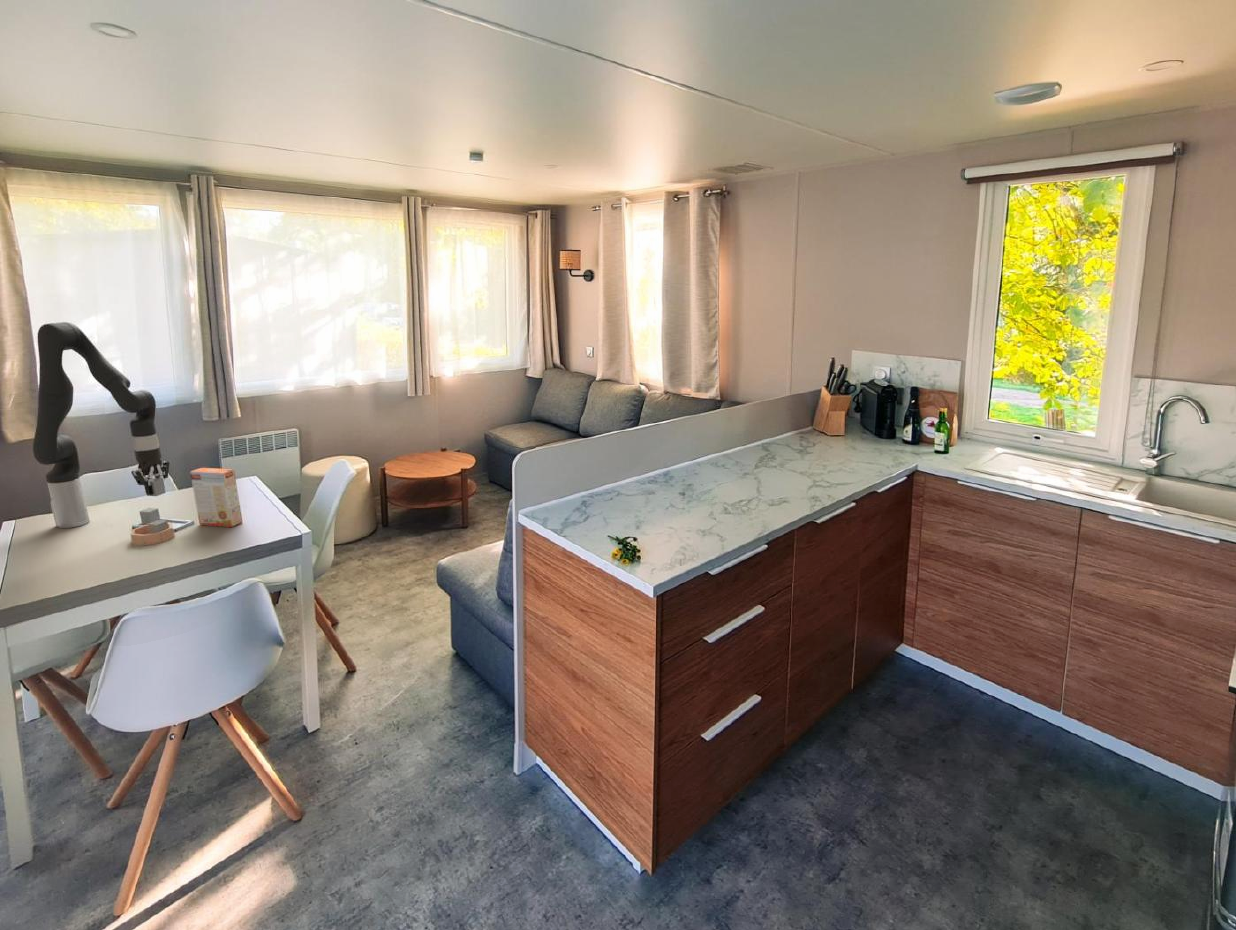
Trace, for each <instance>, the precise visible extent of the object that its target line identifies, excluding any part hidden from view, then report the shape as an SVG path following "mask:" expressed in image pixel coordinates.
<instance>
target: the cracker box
mask: <svg viewBox="0 0 1236 930" xmlns="http://www.w3.org/2000/svg"><path fill="white" fill-rule="evenodd" d="M189 472H190V478H191V485H192V489H193V490H192V491H193V494H194V500H195V505H196V506H195V507H196V511H197V517H198V522H199V523H198V524H199V526H200V525H201V526H212V527H225V528H233V527H235V526H237V525H239V524H241V523H243V515H242V510H241V505H240V504H241V503H240V498H239V492H238V485H237V479H236V474H235V470H234V469H231V468H227V469H226V468H216V467H215V468H211V467H200V468H197V469H193V470H191V471H189Z"/></svg>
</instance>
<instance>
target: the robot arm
mask: <svg viewBox="0 0 1236 930" xmlns="http://www.w3.org/2000/svg"><path fill="white" fill-rule="evenodd" d="M37 348H38V358H39V359H38V360H39V362H38V363H39V379H38V382H39V383H38V397H37V401H38V402H37V403H38V406H37V416H36V427H35V432H34V436H33V437H34V438H33V442H32V452H33V456H34V457H33V458H34V459H35V460H36V461H37V462H38V463H39V464H41V465H45V466H46V465H47V466H48V465H53V464H54V465H53V467H52V468H51V470H50V471H49V470H48V472H46V474H45V479H46V483H47V486H48V487H47V488H48V491H49V496H50V502H49V503H50V508H51V511H52V512H51V513H52V515H53V519H54V523H55V526H57V528H60V529H70V528H71V529H72V528H76V527H80V526H84V525H87V524H88V523H89V522H90V521H91V520H90V517H89V512H88V508H87V503H86V499H85V494H84V491H83V486H82V482H81V478H80V477H81V476H80V472H81V471H80V470H81V467H80V466H81V465H80V460H79V453H78V448H77V445H76V443H75V442H74V440H73V439H72V438H71V437H70V436H68V435H66V434H60V435H58V433H59V430H60V428H61V425H62V424H63V422H64V420H65V419H66V418H67V416H68V415H69V413H70V412H71V409H72V407H73V403H74V385H73V383H72V381H71V378H69V376H68V374H67V373H66V372H65V370H64V367H63V353H64V351H69V350H70V351H71V350H72V351H74V352H75V353H77V354H78V355H80V357H82V358H83V360H85V362H86V364H87V366H88V367H87V368H88V370H89V371H90V374H91V376H92V377H93V378H94V379H95V380H96V381H97V382H98V383H99V384H100V385H101V386H102V387H103V388H105V389H106V390H107V391H108V392H109V393H110V395H111V396H112V398H113V400H114V401H115V402H116V403H117V405H118V406H119V408H121V410H123V411H124V412H127V413H128V414H129V413H131V414H135V413H136V414H135V416H134V418H133V419H131V420H130V422H129V427H130V432H131V433H130V434H131V437H132V438H131V439H132V446H133V451H134V455H135V461H136V462H137V464H138V466H137V468H136V469H135V470H131V472H130V473H131V474H132V475H131V476H133V478H134V480H135V481H136V484H137V485H138V486H143V487H144V491H145V494H146V496H147V495H153V494H154V493H153V488H152V485H151V479H152V478H162V479H163V482H164V483H165V480H166V479H168V477H169V472H170V471H169V470H170V462H169V461H163V460H161V459H162V452H161V446H160V442H159V438H158V436H157V435H158V434H157V430H156V425H155V418H156V408H157V407H156V406H157V405H156V403H157V401H156V398H155V397H154V395H153V394H152V392H150V391H148V390H145V389H141V390H136V391H135V390H134V391H131V390H130V389H129V388H130V387H131V381H130V380H129V378H128V377H126V375H124V374H123V373H122V372H120V371H119V369H117V368H116V367H115V366H114V365H113V364H112V363H110V361H109V360H108V359H107V358H106V357H105V356H104V355H103V354H102V353H101V351H99V348H97V346H95V344H94V343H93V342H92V341H91V340H90V338H89V337H88V336H87V335H86V334H85V333H84V331H83V330H82V329H81V328H80V327H78V326H77V325H76V324H74V323H72V322H67V321H66V322H64V321H62V322H61V321H60V322H53V323H45V324H42V325H41V326H40V327H39V328H38V331H37ZM164 487H165V485H164ZM165 488H166V487H165Z"/></svg>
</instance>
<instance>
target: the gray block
mask: <svg viewBox="0 0 1236 930" xmlns="http://www.w3.org/2000/svg"><path fill="white" fill-rule="evenodd" d="M139 515H140V521H141V522H142V526H143V525H148V524H149V523H151V522H154V521H156V520H160V518H161V516H160V511H159V508H157V507H156V508H155V507H148V508H145V509H142V510H140V511H139Z"/></svg>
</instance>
